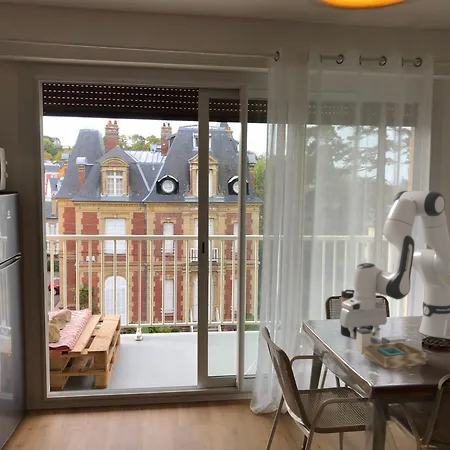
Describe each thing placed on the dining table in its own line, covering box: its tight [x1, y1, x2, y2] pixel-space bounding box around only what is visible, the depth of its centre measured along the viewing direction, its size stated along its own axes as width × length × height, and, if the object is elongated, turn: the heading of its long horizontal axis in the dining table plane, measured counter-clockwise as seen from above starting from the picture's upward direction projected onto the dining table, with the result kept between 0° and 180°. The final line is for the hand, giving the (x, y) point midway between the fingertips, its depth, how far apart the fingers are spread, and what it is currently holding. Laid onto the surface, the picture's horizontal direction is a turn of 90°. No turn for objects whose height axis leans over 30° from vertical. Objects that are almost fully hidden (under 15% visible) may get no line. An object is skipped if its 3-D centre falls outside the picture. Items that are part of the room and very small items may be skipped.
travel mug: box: [340, 289, 357, 337], centre depth 215 cm, size 8×8×20 cm
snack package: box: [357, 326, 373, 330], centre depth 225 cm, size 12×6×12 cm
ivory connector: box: [355, 328, 372, 354], centre depth 192 cm, size 4×4×9 cm
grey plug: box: [381, 335, 407, 344], centre depth 198 cm, size 9×4×4 cm, turn 107°
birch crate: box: [363, 342, 427, 370], centre depth 182 cm, size 18×14×4 cm
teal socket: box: [378, 347, 406, 357], centre depth 181 cm, size 7×7×4 cm
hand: (363, 336), depth 191 cm, fingers open, 8 cm apart
